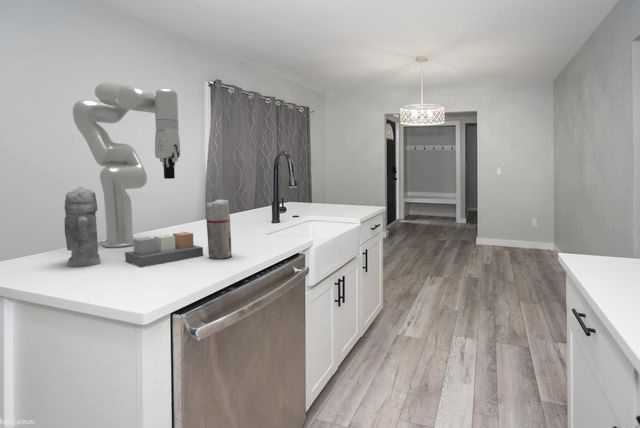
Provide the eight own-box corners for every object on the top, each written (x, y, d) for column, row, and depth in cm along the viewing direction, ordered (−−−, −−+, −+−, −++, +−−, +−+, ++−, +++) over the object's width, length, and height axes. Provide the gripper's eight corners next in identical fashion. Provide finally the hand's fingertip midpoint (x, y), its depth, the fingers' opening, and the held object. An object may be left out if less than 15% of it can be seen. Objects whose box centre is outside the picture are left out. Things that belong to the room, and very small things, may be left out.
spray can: (226, 260, 142) (224, 201, 140) (203, 258, 144) (201, 200, 141) (236, 254, 150) (234, 198, 148) (214, 253, 152) (212, 198, 150)
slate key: (134, 256, 139) (133, 238, 139) (149, 254, 143) (148, 236, 142) (141, 259, 136) (140, 240, 135) (156, 256, 140) (155, 238, 139)
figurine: (100, 256, 147) (95, 185, 144) (101, 265, 135) (96, 187, 132) (67, 260, 142) (62, 186, 140) (66, 269, 130) (60, 188, 127)
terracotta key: (173, 250, 150) (172, 233, 149) (186, 248, 153) (185, 231, 153) (180, 252, 146) (180, 235, 146) (193, 250, 150) (193, 233, 149)
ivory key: (154, 253, 144) (153, 236, 144) (168, 251, 148) (167, 234, 147) (161, 255, 141) (161, 237, 140) (175, 253, 145) (174, 236, 144)
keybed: (125, 261, 141) (124, 252, 140) (185, 250, 157) (184, 243, 157) (142, 266, 133) (141, 257, 132) (203, 255, 149) (202, 247, 149)
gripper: (146, 126, 150) (149, 178, 152) (167, 124, 140) (170, 179, 142) (166, 127, 156) (168, 177, 158) (188, 125, 146) (190, 178, 148)
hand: (169, 178), depth 150 cm, fingers closed
